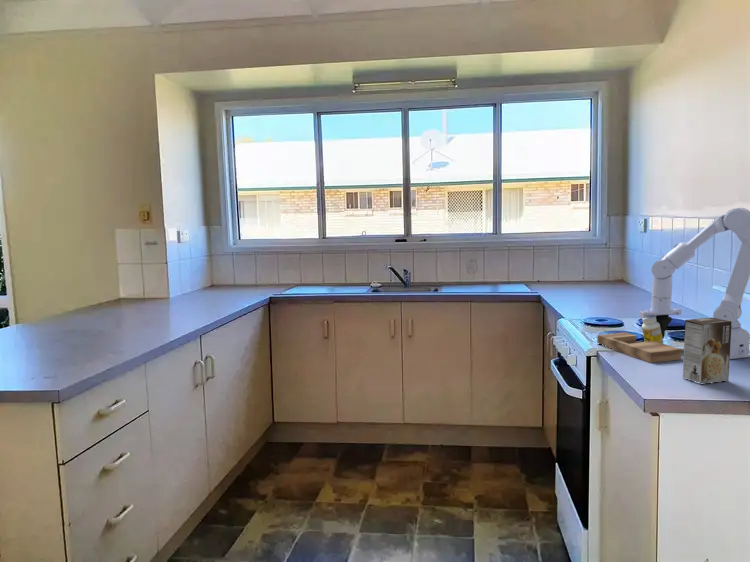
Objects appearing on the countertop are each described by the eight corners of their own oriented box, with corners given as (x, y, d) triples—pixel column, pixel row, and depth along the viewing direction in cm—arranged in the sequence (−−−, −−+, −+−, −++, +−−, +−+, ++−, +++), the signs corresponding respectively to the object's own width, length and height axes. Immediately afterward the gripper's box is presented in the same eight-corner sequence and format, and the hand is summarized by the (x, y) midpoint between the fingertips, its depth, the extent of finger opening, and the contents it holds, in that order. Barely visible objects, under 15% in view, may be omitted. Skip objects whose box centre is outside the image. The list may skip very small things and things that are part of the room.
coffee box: (709, 374, 160) (712, 316, 158) (729, 381, 154) (733, 321, 152) (681, 378, 157) (684, 319, 155) (700, 385, 151) (704, 324, 149)
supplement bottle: (667, 345, 188) (661, 317, 186) (651, 349, 188) (645, 322, 186) (657, 339, 194) (652, 312, 192) (642, 344, 194) (636, 317, 192)
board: (681, 359, 175) (681, 349, 175) (650, 362, 172) (650, 352, 172) (625, 341, 198) (625, 332, 198) (597, 344, 195) (597, 335, 195)
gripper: (670, 293, 195) (668, 333, 197) (633, 296, 191) (631, 336, 193) (687, 296, 188) (684, 338, 190) (649, 300, 184) (646, 342, 187)
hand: (658, 338), depth 191 cm, fingers closed, pressing on supplement bottle
